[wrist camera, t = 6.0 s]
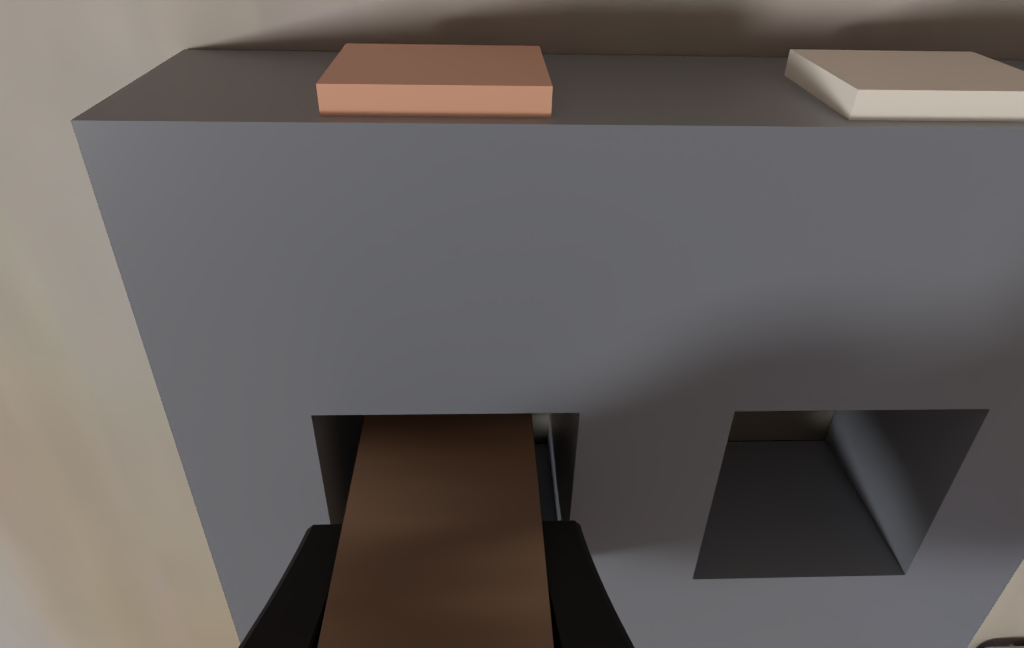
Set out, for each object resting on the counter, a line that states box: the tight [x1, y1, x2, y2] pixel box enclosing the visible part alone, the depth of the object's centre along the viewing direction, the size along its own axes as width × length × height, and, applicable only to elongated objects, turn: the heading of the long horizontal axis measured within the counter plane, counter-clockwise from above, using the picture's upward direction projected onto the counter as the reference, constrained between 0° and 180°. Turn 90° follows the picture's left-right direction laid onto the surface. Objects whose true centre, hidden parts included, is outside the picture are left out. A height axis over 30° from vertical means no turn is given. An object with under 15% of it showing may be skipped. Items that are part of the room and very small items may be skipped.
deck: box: [71, 43, 1024, 648], centre depth 14 cm, size 16×14×4 cm
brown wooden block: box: [317, 413, 554, 648], centre depth 11 cm, size 3×3×7 cm
